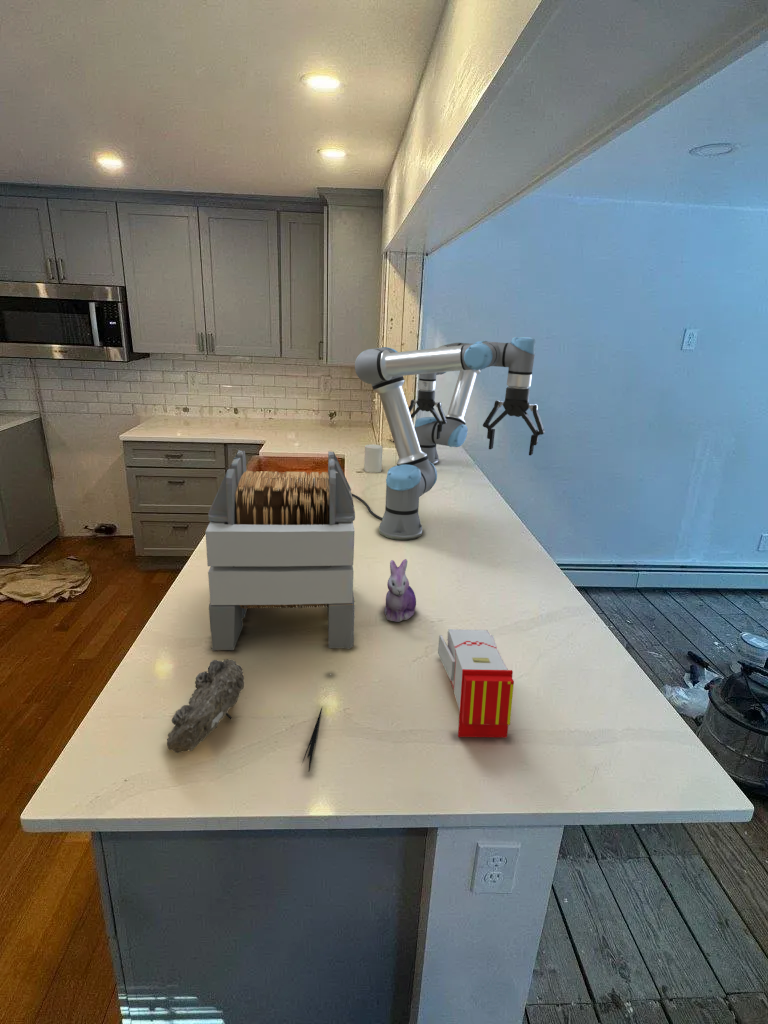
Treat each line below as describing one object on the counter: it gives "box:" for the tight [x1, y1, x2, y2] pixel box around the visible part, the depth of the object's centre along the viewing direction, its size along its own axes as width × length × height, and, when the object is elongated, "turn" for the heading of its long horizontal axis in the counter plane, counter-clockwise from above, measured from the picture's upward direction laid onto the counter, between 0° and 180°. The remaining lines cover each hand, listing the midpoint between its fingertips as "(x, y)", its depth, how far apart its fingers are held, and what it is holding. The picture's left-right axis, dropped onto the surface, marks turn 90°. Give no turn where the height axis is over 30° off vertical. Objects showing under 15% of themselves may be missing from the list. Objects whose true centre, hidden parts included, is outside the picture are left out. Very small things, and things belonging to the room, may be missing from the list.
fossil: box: [166, 658, 245, 754], centre depth 106 cm, size 22×10×15 cm
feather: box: [301, 673, 332, 771], centre depth 108 cm, size 2×28×2 cm
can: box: [363, 443, 384, 474], centre depth 274 cm, size 8×8×12 cm
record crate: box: [204, 449, 356, 652], centre depth 138 cm, size 34×33×41 cm
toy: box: [437, 628, 515, 738], centre depth 117 cm, size 12×13×30 cm
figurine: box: [384, 558, 417, 623], centre depth 145 cm, size 9×10×15 cm
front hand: (510, 451), depth 190 cm, fingers open, 13 cm apart
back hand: (423, 436), depth 260 cm, fingers open, 13 cm apart
